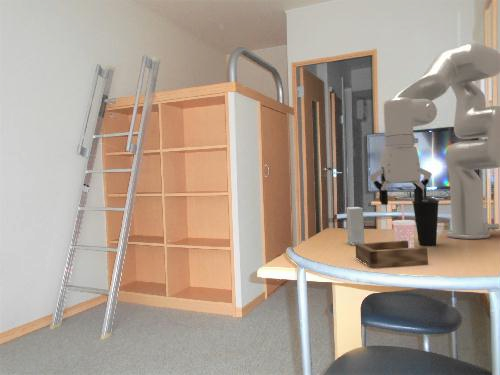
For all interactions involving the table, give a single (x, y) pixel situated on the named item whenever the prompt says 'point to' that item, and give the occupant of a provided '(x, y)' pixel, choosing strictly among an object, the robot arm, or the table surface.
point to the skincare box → (355, 225)
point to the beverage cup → (404, 230)
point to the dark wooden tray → (391, 254)
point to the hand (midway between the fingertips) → (401, 203)
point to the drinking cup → (426, 220)
